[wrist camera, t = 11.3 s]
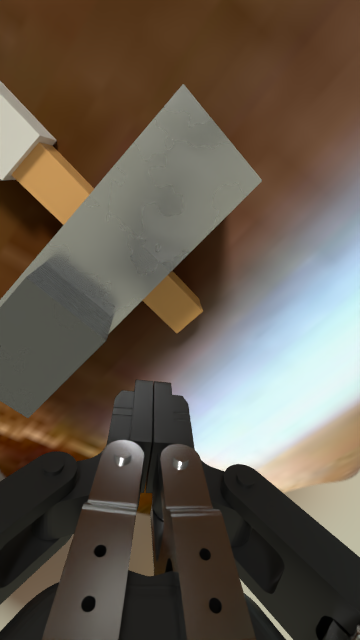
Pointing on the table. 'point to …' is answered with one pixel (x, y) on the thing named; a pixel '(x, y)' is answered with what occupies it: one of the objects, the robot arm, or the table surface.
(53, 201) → the wooden handle
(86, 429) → the table surface
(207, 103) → the table surface
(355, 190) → the table surface
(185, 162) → the block
